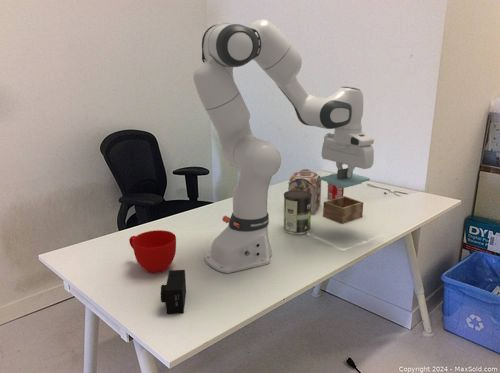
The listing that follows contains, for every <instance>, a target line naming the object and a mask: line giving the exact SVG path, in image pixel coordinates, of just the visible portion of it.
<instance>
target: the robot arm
mask: <svg viewBox="0 0 500 373" xmlns="http://www.w3.org/2000/svg"><path fill="white" fill-rule="evenodd" d="M202 35H203V36H202V39H201V60H202V63H201V64H200V65H199V66H198V67H197V68H196V69H195V71H194V73H193V76H192V77H193V82H194V85H195V89H196V91H197V94H198V97H199V99H200V101H201V103H202V106H203V107H204V110H205V111H206V113H207V115H208V117H209V119H210V121H211V122H212V125H213V127H214V129H215V131H216V133H217V135H218V139H219V143H220V147H221V149H220V152H221V155H222V157H223V158H224V159H225V161H226V162H227V163H228V164H229V165H230V166H232V167H234V168H235V169H238V172H239V176H238V181H237V185H236V186H234V188H233V190H232V213H231V215H230V217H229V216H227V215H223V216H222V218H221V219H222V222H224V223H226V224H228V226H226V227H225V229H223V230H222V231H221V232H220V233H219V235H217V236H216V237H215V238H214V239H213V241H212V244H211V249H210V250H211V251H209V252H207V253H205V254H204V261H205V263H206V264H207V265H208V266H210V267H211V268H212V269H214V270H215V271H218V272H221V273H225V274H229V273H230V274H231V273H235V272H239V271H244V270H247V269H251V268H252V269H253V268H255V267H259V266H265V265H269V264H270V262H271V261H270V260H271V257H272V255H273V252H272V248H271V244H270V238H269V230H268V226H269V223H270V220H269V219H270V216H269V214H270V213H269V212H268V196H269V195H268V193H269V187H270V185H271V181H272V178H273V176H274V175H275V174H277V172H278V171H279V169H280V168H281V165H282V156H281V153H280V151H279V149H277V148H276V147H275V146H274V145H273V144H272V143H270V142H268V141H266V140H263V139H260V138H258V137H256V136H255V135H254V134H253V132H252V130H251V124H250V119H251V113H250V111H249V109H248V107H247V105H246V104H247V103H246V101H245V100H244V98H243V96H242V94H241V92H240V89H239V88H238V85H237V84H236V82H235V78H234V72H233V70H234V68H239V67H243V66H245V65H246V64H248V63H250V62H251V61H254V62H256V64H257V65H258V66H259V67H260V68H261V70H263V71H264V72H265V73H266V75H267V76H268V77H269V78H271V80H272V81H273V82H274V83H275V84H276V86H277V88H278V89H279V90H280V92H282V94H283V95H284V96H285V97H286V98H287V100H288V101H289V102H290V104H291V105H292V106H293V108H294V111H295V114H296V117H297V119H298V121H299V122H300V123H301V124H302V125H305V126H311V127H316V128H321V129H325V130H326V129H327V130H333V129H334V131H333V133H331V132H328V133H326V134H325V135H324V136H323V142H322V147H321V158H322V159H323V160H326V161H327V160H328V161H331V162H334V163H335V166H336V168H337V170H341V169H344V168H343V165H346V166H347V168H349V169H348V171H347V172H345V177H348V178H350V177H351V176H352V172H354V170H355V169H356V168H359V169H362V170H367V169H371V168H372V167H373V165H374V158H375V157H374V156H375V155H374V154H375V153H374V152H375V151H374V147H373V144H374V142H375V140H374V139H375V138H373V137H372V136H370V135H368V134H367V133H365V132H364V131H362V118H363V116H364V95H363V92H362V90H360V88H356V87H351V86H341V87H339V88H338V89H337V90H336V91H335V92H334V93H333V94H331V95H329V96H326V97H321V96H320V97H319V96H316V95H313V94H311V93H309V92H308V91H307V90H306V88H305V87H304V85H303V84H302V83H301V82H300V81H299V79H298V77H297V75H298V74H299V73H300V71H301V68H302V63H303V62H302V59H303V58H302V56H301V54H300V53H299V51H298V49H297V48H296V46H295V45H294V44H293V43H292V41H291V40H290V39H289V37H287V36H286V35H285V34H284V32H282V30H280V29H279V28H278V27H277V26H275V25H274V24H273V23H272V22H271V21H270V20H267V19H264V18H262V19H257V20H255V21H253V22H251V24H249V26H245V25H244V24H238V23H230V22H222V23H217V24H213V25H211V26H210V27H208V28H207V29H206V30H205V32H204V34H202Z"/></svg>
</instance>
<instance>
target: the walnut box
mask: <svg viewBox="0 0 500 373" xmlns="http://www.w3.org/2000/svg"><path fill="white" fill-rule="evenodd" d="M322 210H323V211H322V217H323V218H325V219H329V220H330V221H333V222H335V223H338V224H341V225H344V224H347V223H350V222H352V221H355V220H358V219H361V218H363V213H364V212H363V211H364V202H363V201H360V200H358V199H355V198H354V199H353V198H351V197H348V196H346V195H343V197H339V198H336V199H332V200H325V201H323V208H322Z"/></svg>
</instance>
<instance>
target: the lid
mask: <svg viewBox="0 0 500 373" xmlns="http://www.w3.org/2000/svg"><path fill="white" fill-rule="evenodd" d="M348 169H349V168H348V167H346V168H343V169H341V170H338V169H337V171H336V173H331V174H332V175H330V174H329V175H323V176H320V180H321V181H324V182H326V184H327V185H328V184H331V185H335V186H338V187H341V188H344V189H345V188H349V187H353V186H357V185H360V184H362V183H364V182H369V181H370V180H371V179H370V177H367V176H363V175H359V174H355V173H353V172H354V171H353V172H352V176H351V177H350V178H348V177H345V172H347V171H348Z"/></svg>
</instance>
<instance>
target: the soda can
mask: <svg viewBox="0 0 500 373" xmlns="http://www.w3.org/2000/svg"><path fill="white" fill-rule="evenodd" d="M332 174H333V173H331V174H329V175H332ZM344 190H345V188H341V187H338V186H335V185H331V184H328V183H327V201H329V200H332V199H336V198H339V197H343V196H344Z"/></svg>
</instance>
